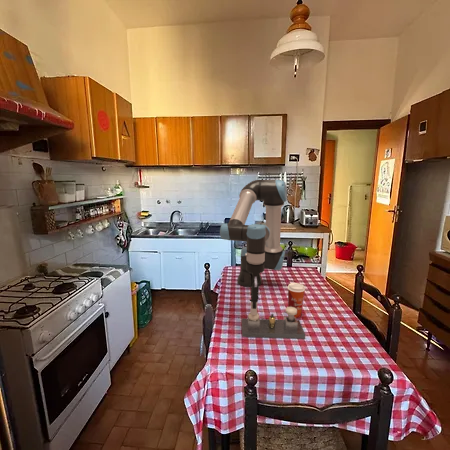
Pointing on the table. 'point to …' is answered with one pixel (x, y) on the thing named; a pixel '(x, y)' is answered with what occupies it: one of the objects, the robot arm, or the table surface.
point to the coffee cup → (296, 297)
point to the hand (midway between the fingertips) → (253, 314)
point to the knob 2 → (291, 313)
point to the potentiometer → (272, 321)
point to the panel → (273, 329)
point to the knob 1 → (253, 317)
